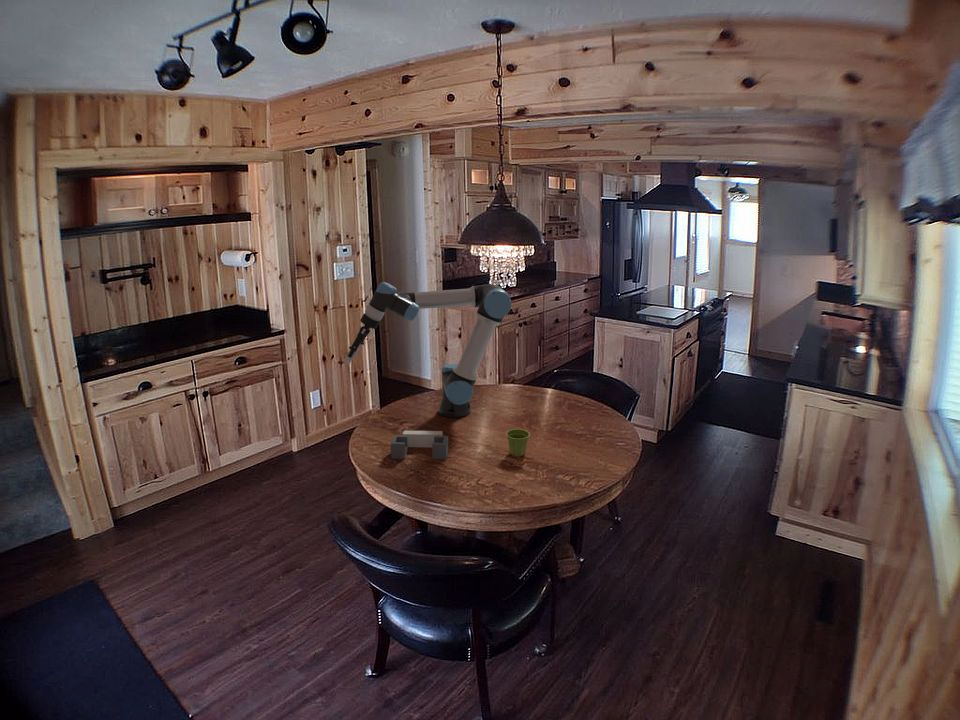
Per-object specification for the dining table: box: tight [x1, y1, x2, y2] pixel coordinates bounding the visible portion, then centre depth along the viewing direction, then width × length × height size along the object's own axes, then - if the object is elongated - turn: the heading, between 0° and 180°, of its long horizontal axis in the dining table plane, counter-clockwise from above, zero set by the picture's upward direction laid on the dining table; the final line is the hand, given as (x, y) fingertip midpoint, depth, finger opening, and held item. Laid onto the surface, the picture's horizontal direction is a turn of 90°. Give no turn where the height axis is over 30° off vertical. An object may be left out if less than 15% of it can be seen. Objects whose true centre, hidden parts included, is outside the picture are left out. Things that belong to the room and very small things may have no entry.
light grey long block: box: [402, 430, 443, 448], centre depth 246 cm, size 16×4×6 cm, turn 88°
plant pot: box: [505, 428, 531, 457], centre depth 238 cm, size 9×9×9 cm
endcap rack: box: [390, 434, 449, 460], centre depth 238 cm, size 22×8×6 cm, turn 87°
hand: (349, 359), depth 252 cm, fingers open, 13 cm apart
